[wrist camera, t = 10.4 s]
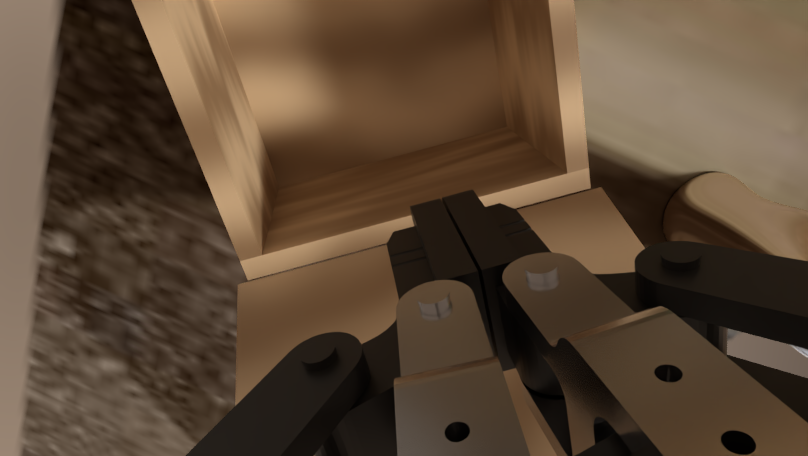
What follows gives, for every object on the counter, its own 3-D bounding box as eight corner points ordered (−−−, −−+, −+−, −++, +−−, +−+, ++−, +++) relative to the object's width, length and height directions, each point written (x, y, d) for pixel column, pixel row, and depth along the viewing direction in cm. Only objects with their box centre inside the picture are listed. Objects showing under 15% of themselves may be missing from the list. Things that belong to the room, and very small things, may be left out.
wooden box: (158, -92, 27) (69, -134, 17) (475, -172, 27) (551, -255, 18) (266, 201, 33) (243, 281, 24) (520, 134, 34) (590, 188, 24)
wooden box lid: (225, 849, 12) (236, 845, 13) (929, 645, 13) (916, 648, 13) (237, 284, 24) (243, 292, 25) (601, 186, 25) (599, 196, 25)
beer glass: (638, 244, 38) (810, 387, 24) (688, 152, 36) (910, 254, 22) (717, 267, 40) (920, 413, 26) (770, 181, 37) (1024, 292, 24)
